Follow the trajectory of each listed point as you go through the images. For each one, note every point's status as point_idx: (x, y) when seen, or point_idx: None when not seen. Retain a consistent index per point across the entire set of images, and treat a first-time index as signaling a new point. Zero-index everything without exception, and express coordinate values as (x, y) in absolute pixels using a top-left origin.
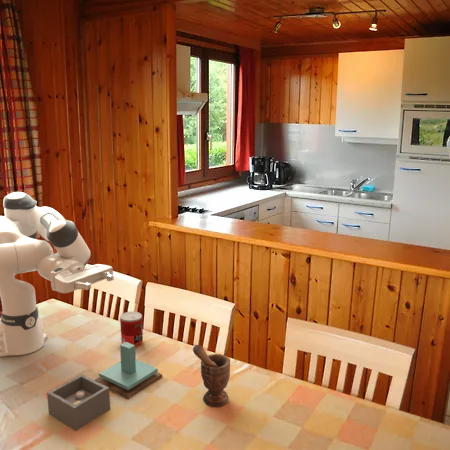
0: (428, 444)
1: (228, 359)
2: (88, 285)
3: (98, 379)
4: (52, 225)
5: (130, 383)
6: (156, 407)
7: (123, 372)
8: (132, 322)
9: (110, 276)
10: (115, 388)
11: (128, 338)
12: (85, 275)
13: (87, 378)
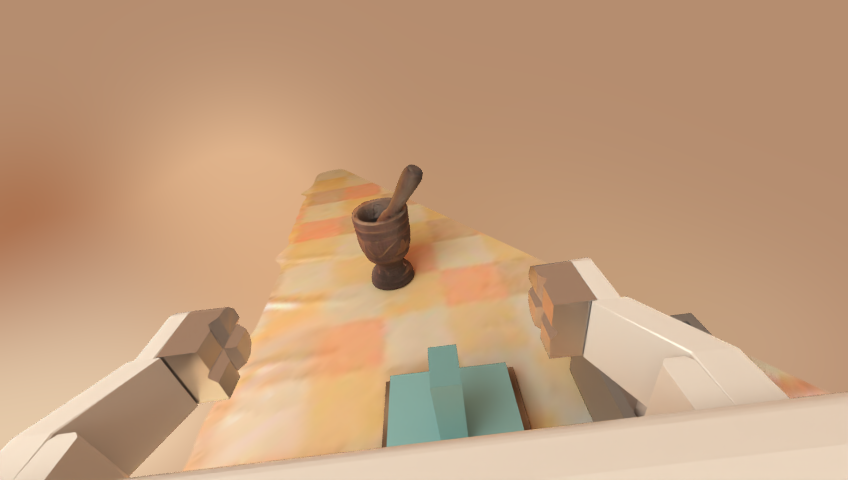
0: (346, 171)
1: (363, 204)
2: (564, 263)
3: None
4: None
5: (491, 369)
6: (481, 316)
7: (471, 429)
8: None
9: (215, 309)
10: (521, 416)
11: None
12: (464, 477)
13: (622, 402)
